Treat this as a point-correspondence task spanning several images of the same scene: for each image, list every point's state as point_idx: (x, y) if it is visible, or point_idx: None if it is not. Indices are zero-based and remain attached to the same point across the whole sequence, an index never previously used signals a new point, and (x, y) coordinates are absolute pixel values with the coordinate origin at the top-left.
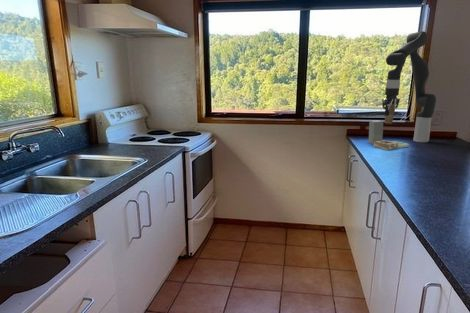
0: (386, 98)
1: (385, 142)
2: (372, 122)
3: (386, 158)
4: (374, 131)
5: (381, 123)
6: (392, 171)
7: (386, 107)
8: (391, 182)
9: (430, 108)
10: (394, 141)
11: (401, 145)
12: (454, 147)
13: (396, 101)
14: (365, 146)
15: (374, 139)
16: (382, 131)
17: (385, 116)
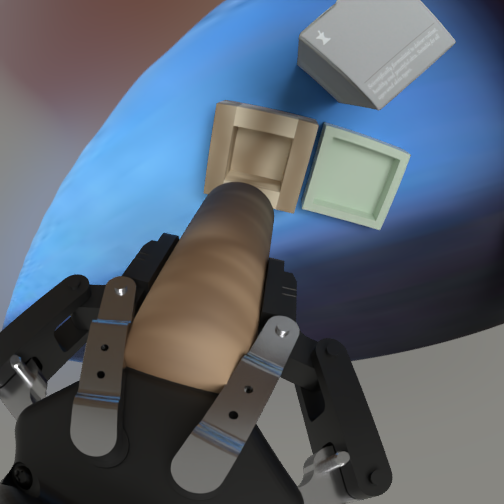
0: (22, 425)
1: (292, 141)
2: (326, 11)
3: (102, 236)
4: (302, 56)
5: (357, 95)
6: (45, 285)
7: (77, 327)
8: (19, 298)
9: None
10: (403, 154)
11: (324, 213)
12: (461, 320)
13: (308, 459)
14: (221, 56)
15: (302, 65)
16: (352, 103)
17: (190, 224)
